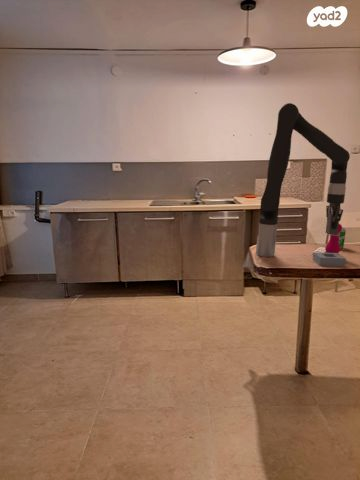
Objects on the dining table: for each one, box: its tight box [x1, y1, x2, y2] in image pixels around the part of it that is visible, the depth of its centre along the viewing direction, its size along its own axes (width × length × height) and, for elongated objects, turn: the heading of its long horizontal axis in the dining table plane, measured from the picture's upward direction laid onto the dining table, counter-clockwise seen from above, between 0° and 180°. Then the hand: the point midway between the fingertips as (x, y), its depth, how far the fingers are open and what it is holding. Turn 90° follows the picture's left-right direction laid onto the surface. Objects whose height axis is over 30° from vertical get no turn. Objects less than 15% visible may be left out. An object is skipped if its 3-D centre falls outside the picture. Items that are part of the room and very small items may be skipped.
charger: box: [325, 213, 340, 235], centre depth 152 cm, size 4×4×12 cm
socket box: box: [312, 251, 347, 267], centre depth 156 cm, size 12×9×4 cm
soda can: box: [338, 226, 347, 250], centre depth 183 cm, size 8×8×12 cm
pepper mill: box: [324, 223, 343, 254], centre depth 164 cm, size 7×7×20 cm
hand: (331, 227), depth 153 cm, fingers closed on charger, 4 cm apart
